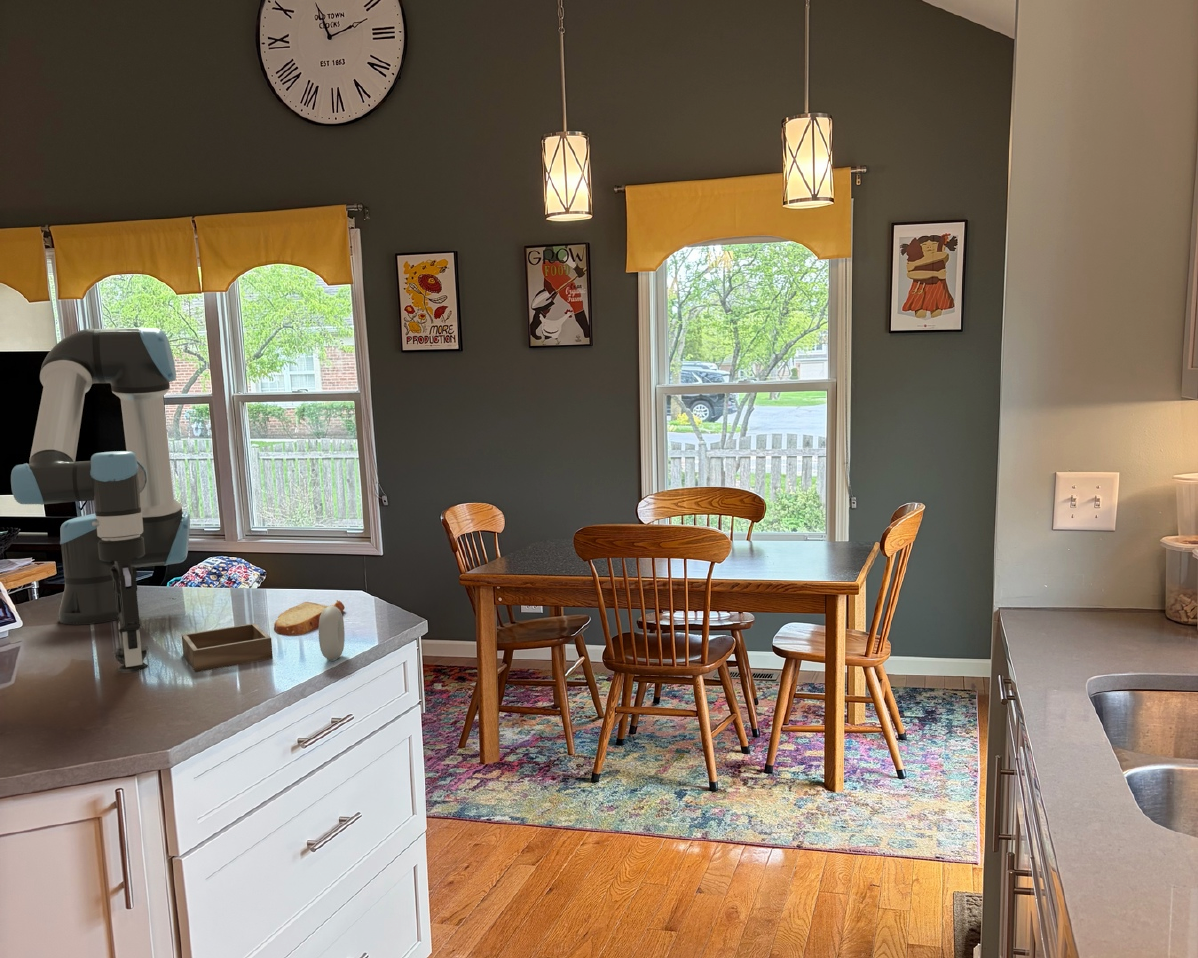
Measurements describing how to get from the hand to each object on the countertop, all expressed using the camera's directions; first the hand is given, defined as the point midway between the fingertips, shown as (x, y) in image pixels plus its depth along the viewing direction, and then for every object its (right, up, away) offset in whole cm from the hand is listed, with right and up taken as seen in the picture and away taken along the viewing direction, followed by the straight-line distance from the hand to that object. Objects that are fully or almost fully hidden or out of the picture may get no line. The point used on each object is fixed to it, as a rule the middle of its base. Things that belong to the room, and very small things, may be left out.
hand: (131, 660), depth 178 cm
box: (+16, 0, +5) cm, 16 cm away
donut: (+37, 0, +1) cm, 37 cm away
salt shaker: (0, -2, 0) cm, 2 cm away
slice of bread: (+24, +2, +31) cm, 39 cm away
